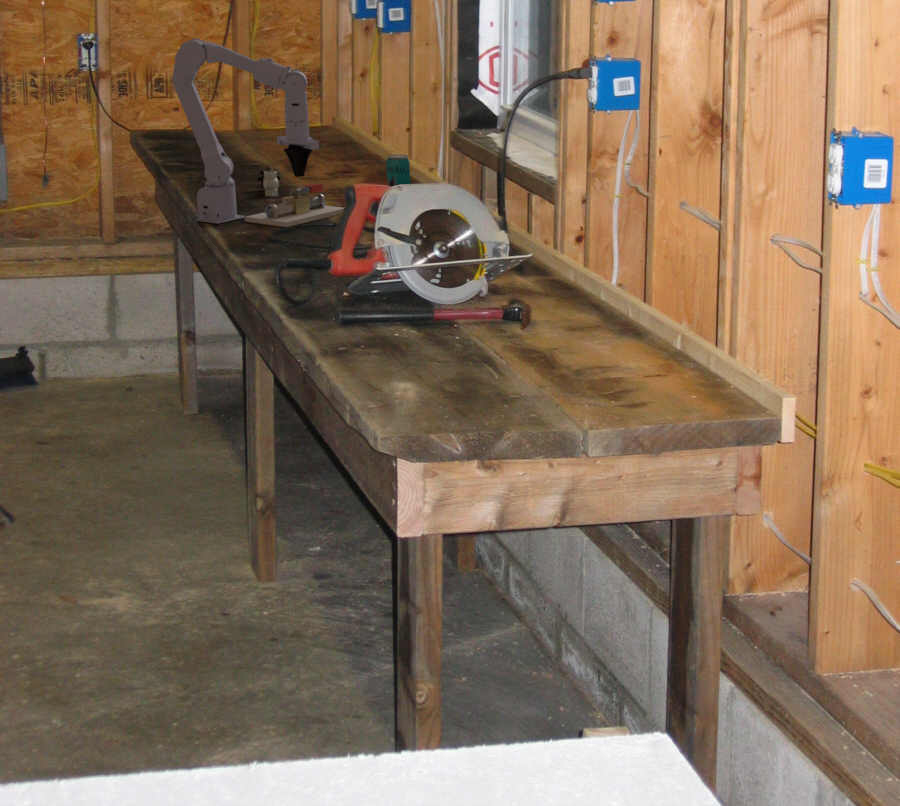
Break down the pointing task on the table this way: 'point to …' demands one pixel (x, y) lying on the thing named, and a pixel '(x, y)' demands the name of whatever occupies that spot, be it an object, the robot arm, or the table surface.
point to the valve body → (295, 205)
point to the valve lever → (307, 189)
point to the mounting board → (295, 217)
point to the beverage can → (398, 170)
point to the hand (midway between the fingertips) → (299, 176)
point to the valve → (269, 181)
